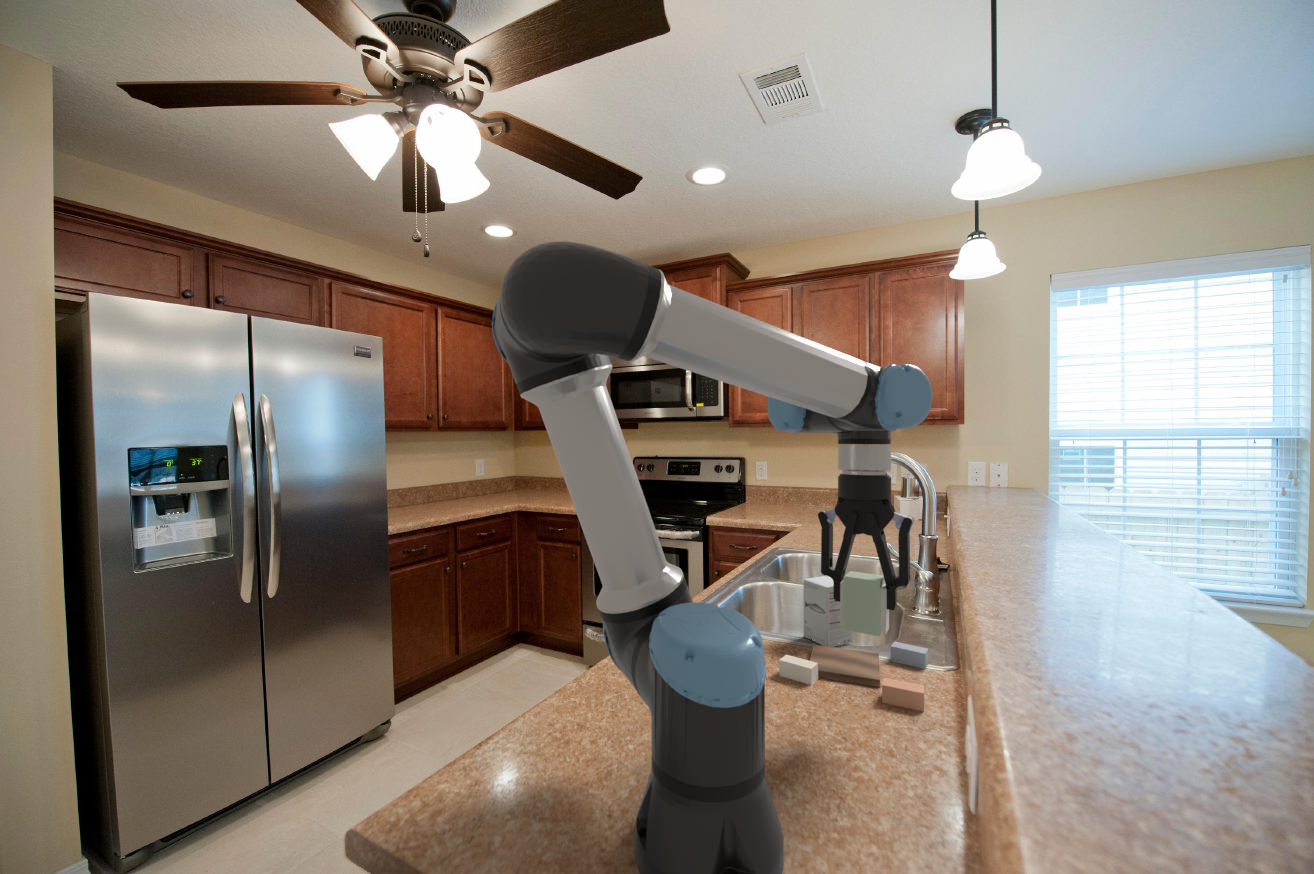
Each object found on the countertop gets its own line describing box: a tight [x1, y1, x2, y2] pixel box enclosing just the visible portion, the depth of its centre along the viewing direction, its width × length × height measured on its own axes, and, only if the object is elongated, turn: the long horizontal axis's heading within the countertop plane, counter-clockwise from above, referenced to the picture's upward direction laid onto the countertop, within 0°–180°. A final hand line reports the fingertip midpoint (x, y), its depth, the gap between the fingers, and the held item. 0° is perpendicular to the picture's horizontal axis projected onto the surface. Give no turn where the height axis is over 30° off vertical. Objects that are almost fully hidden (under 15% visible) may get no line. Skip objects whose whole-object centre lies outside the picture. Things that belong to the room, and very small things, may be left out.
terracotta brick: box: [881, 677, 926, 712], centre depth 82 cm, size 6×3×3 cm, turn 61°
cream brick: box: [778, 654, 819, 686], centre depth 91 cm, size 6×3×3 cm, turn 52°
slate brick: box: [890, 641, 930, 670], centre depth 97 cm, size 6×3×3 cm, turn 52°
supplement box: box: [803, 575, 854, 648], centre depth 109 cm, size 7×7×13 cm
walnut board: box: [809, 644, 881, 688], centre depth 95 cm, size 12×12×1 cm
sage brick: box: [844, 570, 885, 637], centre depth 77 cm, size 4×5×8 cm
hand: (864, 626), depth 77 cm, fingers closed on sage brick, 5 cm apart
